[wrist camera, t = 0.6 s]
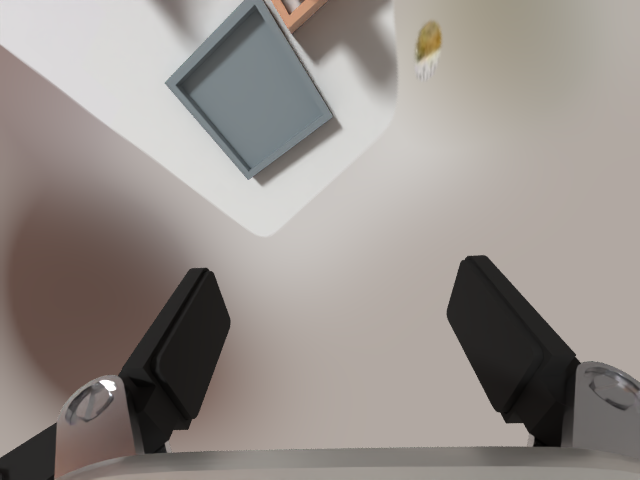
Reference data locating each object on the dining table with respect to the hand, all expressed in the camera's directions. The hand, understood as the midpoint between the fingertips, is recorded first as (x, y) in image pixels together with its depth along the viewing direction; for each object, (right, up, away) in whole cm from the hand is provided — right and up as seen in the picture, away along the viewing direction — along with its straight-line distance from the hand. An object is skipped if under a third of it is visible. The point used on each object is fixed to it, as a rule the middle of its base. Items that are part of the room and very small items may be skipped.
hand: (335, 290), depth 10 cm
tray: (-8, +19, +20) cm, 29 cm away
